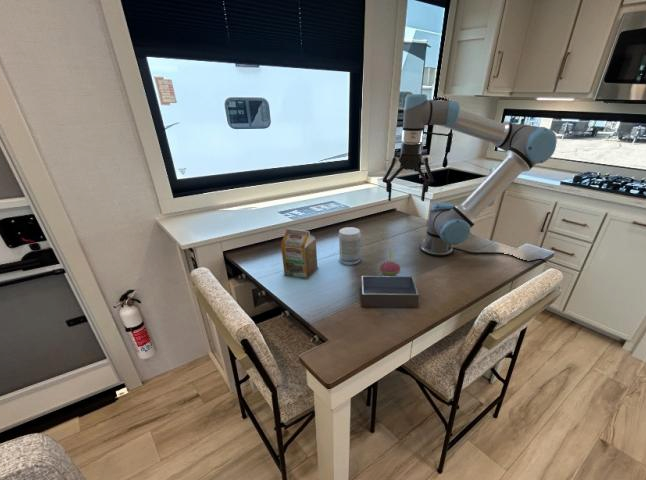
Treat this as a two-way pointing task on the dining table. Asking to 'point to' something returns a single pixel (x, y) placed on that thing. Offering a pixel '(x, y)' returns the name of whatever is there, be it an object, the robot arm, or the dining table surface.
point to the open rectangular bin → (389, 291)
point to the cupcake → (390, 268)
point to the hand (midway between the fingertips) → (405, 200)
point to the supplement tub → (349, 245)
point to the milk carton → (299, 253)
